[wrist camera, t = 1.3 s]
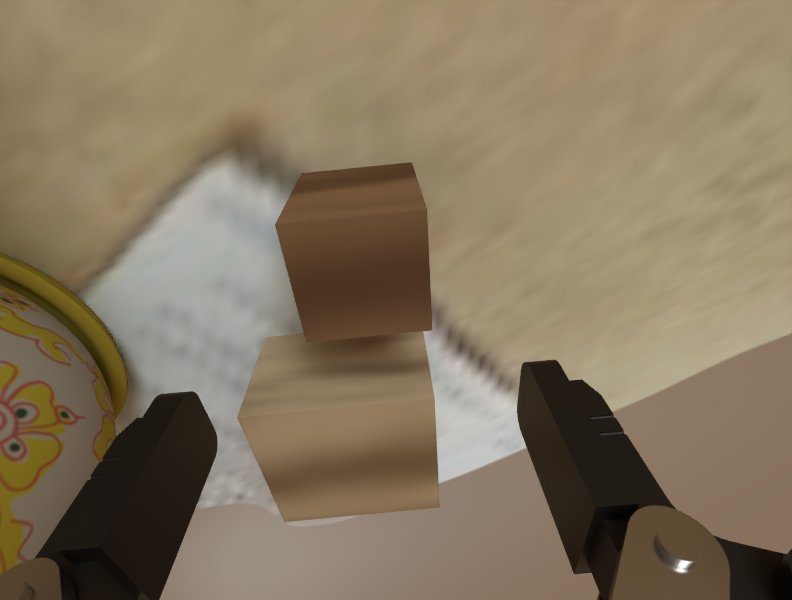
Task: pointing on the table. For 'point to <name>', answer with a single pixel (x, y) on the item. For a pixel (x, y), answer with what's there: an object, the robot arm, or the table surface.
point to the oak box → (344, 425)
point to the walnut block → (358, 252)
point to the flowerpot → (49, 404)
